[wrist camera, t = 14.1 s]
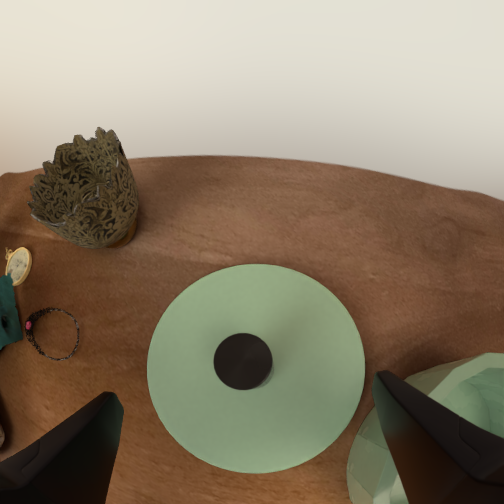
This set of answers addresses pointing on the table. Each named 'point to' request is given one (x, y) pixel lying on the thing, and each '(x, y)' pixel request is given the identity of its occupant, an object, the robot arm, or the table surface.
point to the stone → (1, 435)
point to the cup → (88, 193)
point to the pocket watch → (18, 264)
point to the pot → (446, 393)
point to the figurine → (8, 313)
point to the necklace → (34, 335)
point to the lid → (256, 368)
